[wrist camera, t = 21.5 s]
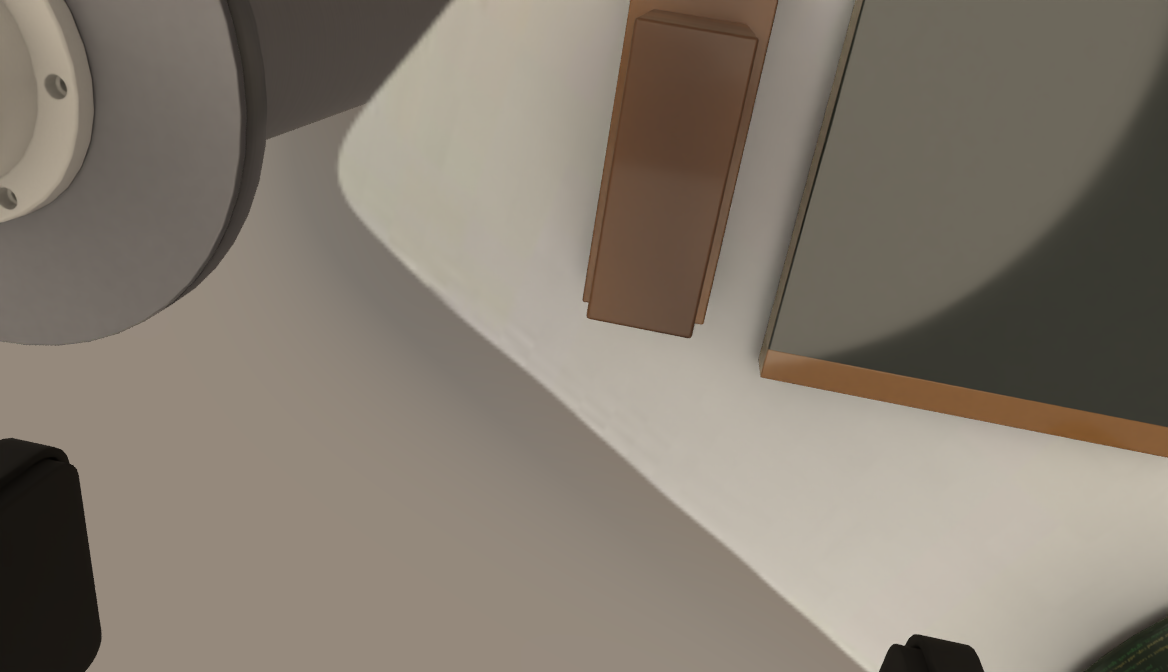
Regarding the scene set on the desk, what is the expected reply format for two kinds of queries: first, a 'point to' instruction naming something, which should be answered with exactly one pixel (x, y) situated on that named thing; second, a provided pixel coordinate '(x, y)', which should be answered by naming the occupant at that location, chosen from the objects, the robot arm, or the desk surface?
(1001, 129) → the slate board
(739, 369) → the desk surface
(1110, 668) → the coffee jar
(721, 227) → the brown stepped wooden block
